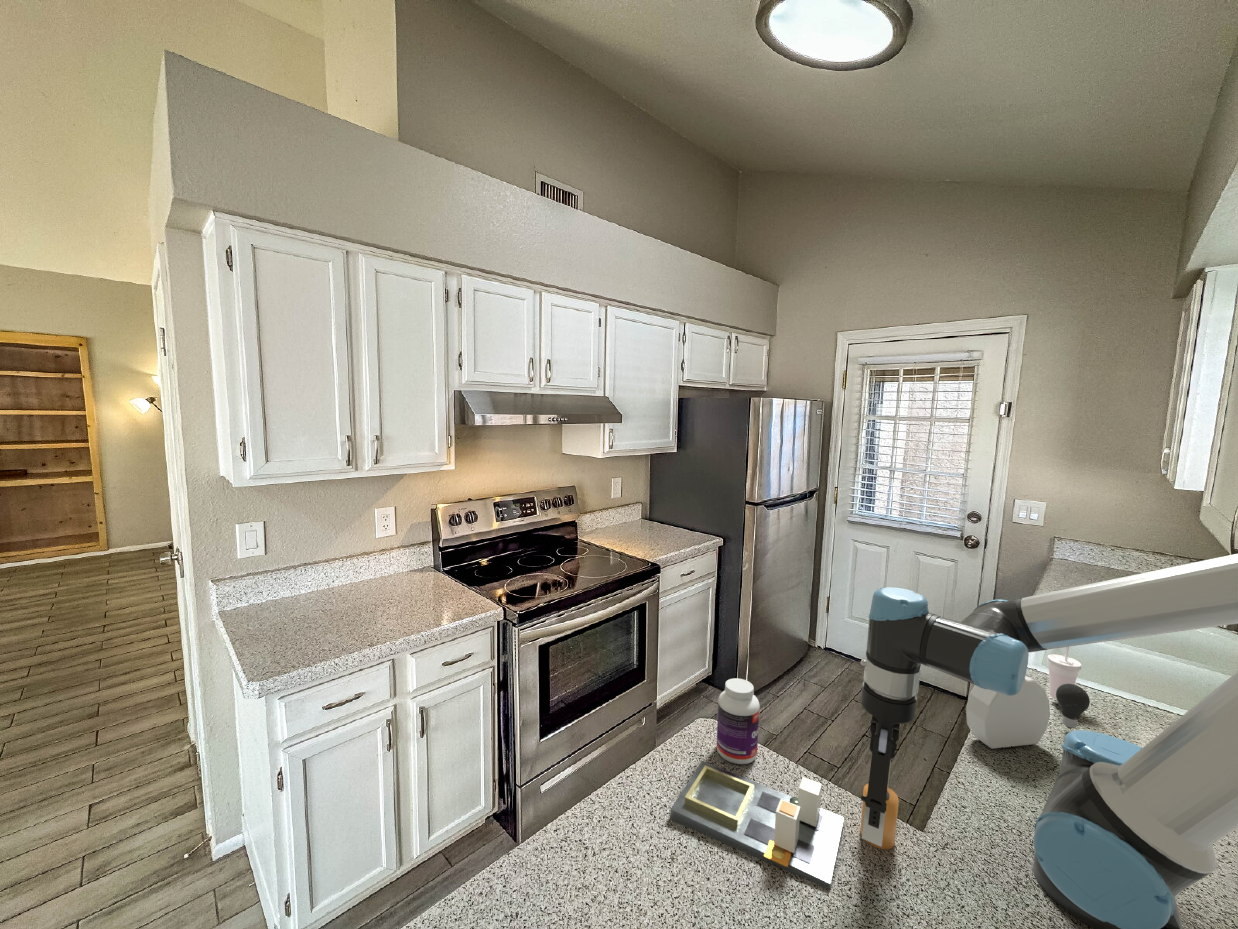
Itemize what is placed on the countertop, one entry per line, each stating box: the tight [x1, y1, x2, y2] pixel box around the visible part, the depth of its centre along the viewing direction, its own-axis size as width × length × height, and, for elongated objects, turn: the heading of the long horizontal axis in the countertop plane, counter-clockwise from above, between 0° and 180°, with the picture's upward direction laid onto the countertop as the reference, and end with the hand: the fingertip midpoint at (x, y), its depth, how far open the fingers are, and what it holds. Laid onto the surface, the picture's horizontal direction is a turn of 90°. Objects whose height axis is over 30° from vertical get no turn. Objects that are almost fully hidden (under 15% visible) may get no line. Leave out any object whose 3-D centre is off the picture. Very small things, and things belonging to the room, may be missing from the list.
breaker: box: [797, 776, 823, 827], centre depth 83 cm, size 3×3×6 cm
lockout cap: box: [859, 783, 900, 850], centre depth 82 cm, size 5×5×8 cm
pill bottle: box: [716, 677, 761, 765], centre depth 101 cm, size 8×8×14 cm
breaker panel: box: [669, 760, 845, 890], centre depth 84 cm, size 25×15×3 cm, turn 59°
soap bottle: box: [965, 675, 1051, 750], centre depth 108 cm, size 16×5×20 cm, turn 100°
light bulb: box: [1056, 684, 1091, 730], centre depth 113 cm, size 6×6×10 cm
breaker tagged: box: [774, 799, 800, 853], centre depth 78 cm, size 3×3×6 cm
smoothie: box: [1046, 646, 1082, 700], centre depth 125 cm, size 6×6×14 cm
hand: (875, 811), depth 82 cm, fingers open, 13 cm apart
